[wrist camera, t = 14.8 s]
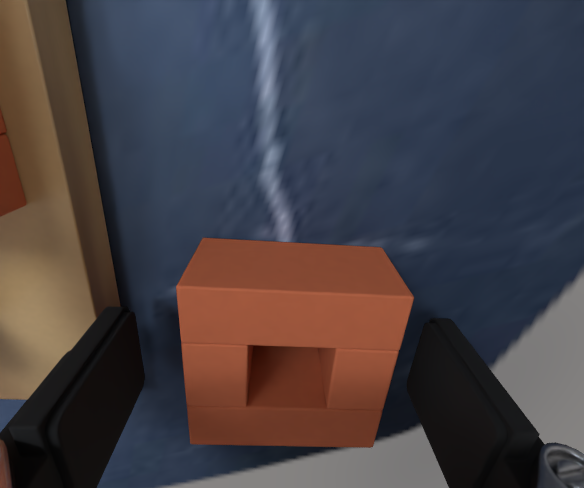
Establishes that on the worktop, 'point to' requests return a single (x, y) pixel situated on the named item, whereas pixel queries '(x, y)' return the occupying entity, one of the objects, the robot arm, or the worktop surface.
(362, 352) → the orange square ring block
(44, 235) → the base board
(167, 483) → the worktop surface
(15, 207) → the pad
